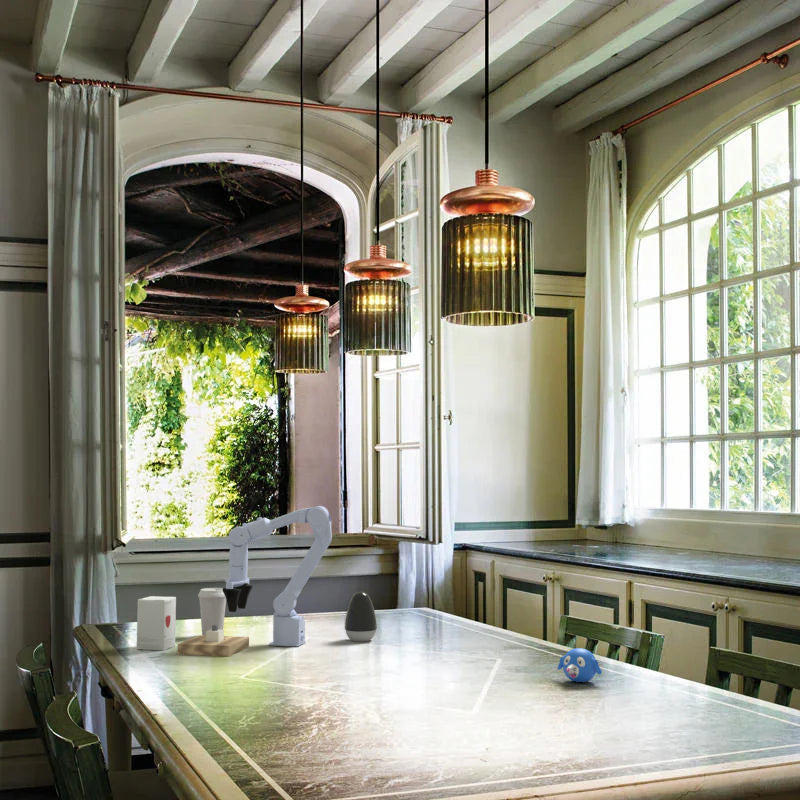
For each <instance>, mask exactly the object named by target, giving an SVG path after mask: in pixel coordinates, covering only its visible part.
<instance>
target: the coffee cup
mask: <svg viewBox="0 0 800 800" xmlns="http://www.w3.org/2000/svg"><path fill="white" fill-rule="evenodd" d="M223 588H224V587H223ZM223 588H222V587H207V588H205V587H204V588H201V589H200V590H199V593H198V594H197V597H198V600H199V611H200V621H201V622H200V624H201V635H205V636H206V631H208V630H211V629H212V625H218V629H220V630H224V627H225V626H224V625H225V613H226V604H227V600H226V597H225V595H224V593H223Z"/></svg>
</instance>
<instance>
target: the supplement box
mask: <svg viewBox="0 0 800 800" xmlns="http://www.w3.org/2000/svg"><path fill="white" fill-rule="evenodd" d="M176 608H177V597H176V596H157V595H156V596H154V595H149V596H147V597H143V598H138V599H137V610H136V611H137V616H136V617H137V618H136V619H137V621H136V650H141V649H142V651H143V650H145V651H146V650H148V651H165V650H167V649H171V648H173V647H175V646H176V624H177V623H176V622H177V620H176V615H177V613H176V612H177V609H176Z"/></svg>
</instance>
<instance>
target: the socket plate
mask: <svg viewBox="0 0 800 800" xmlns="http://www.w3.org/2000/svg"><path fill="white" fill-rule="evenodd" d="M249 647H250V637H249V636H230V635H229V636H228V635H226V636H225V635H224V640H223V641H221V642H206V636H205V635H202V634H201V635H200V634H199V635H197V636H195V637H192V638H190V639H187V640H184V641H182V642H179V643H177V646H176V648H177V655H186V656H187V655H188V656H189V655H190V656H210V657H230V656H233V655H236V654H238V653H239V652H241V651H243V650H246V649H249Z"/></svg>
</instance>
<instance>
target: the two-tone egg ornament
mask: <svg viewBox="0 0 800 800" xmlns="http://www.w3.org/2000/svg"><path fill="white" fill-rule="evenodd" d="M344 630H345V633H346V636H347V638H348V639H349V640H351V641H353V642H356V641H365V642H369V641H371V640H372V639H373V638H374V637H375V635H376V633H377V632H376V631H377V630H378V623H377V616H376V613H375V608H374V605H373V602H372V600H371V598H370V596H369V594H368V593H366V592H365V591H358V592H357V591H356V592H355V593H354V594H353V595H352V597H351V599H350V601H349V603H348V607H347V611H346V615H345V621H344Z"/></svg>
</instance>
